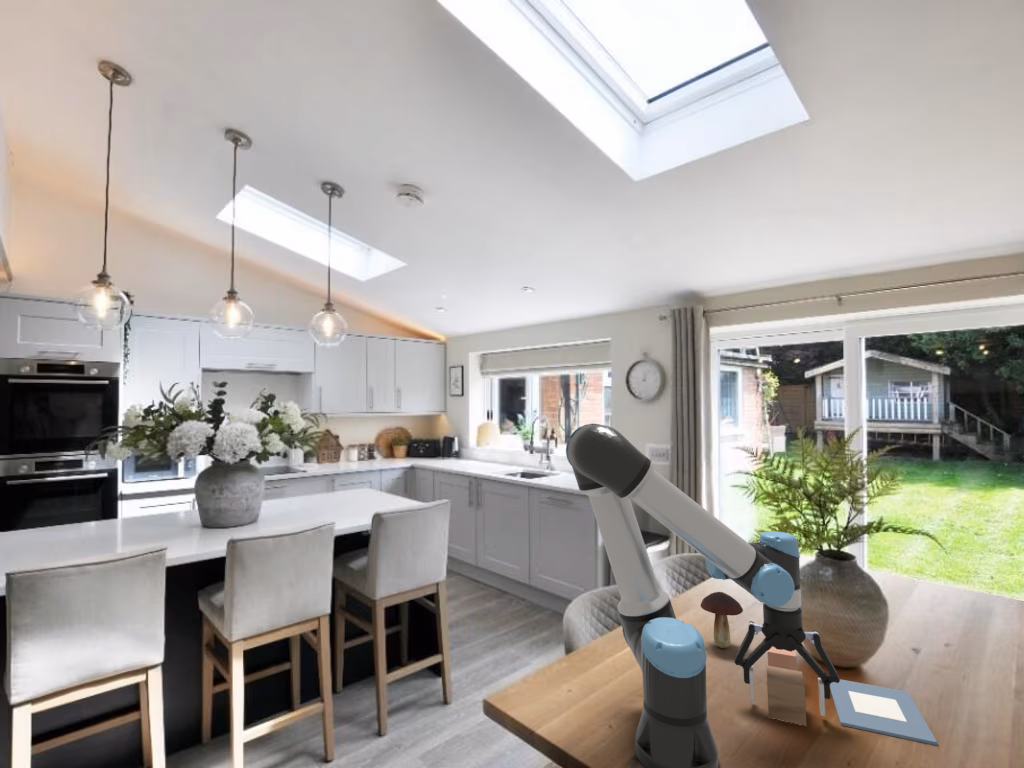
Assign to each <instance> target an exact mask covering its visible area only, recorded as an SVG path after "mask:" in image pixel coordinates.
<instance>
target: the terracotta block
mask: <svg viewBox="0 0 1024 768" xmlns="http://www.w3.org/2000/svg"><path fill="white" fill-rule="evenodd" d="M766 653H767V654H766V657H767V666H773V667H778V668H784V669H789V670H795V671H798V667H797V654H796V653H797V652H796V650H794V651H792V652H791V651H787V650H784V649H783V650H779V649H776V648H775V647H773V646H772V647H771V648H770V649H769V650H768V651H766Z"/></svg>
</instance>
